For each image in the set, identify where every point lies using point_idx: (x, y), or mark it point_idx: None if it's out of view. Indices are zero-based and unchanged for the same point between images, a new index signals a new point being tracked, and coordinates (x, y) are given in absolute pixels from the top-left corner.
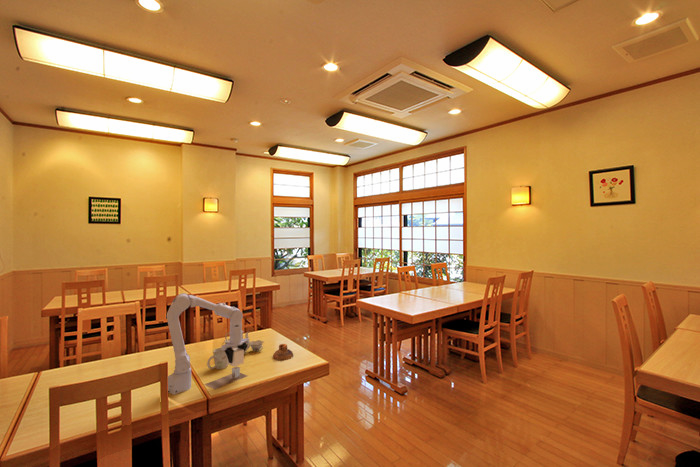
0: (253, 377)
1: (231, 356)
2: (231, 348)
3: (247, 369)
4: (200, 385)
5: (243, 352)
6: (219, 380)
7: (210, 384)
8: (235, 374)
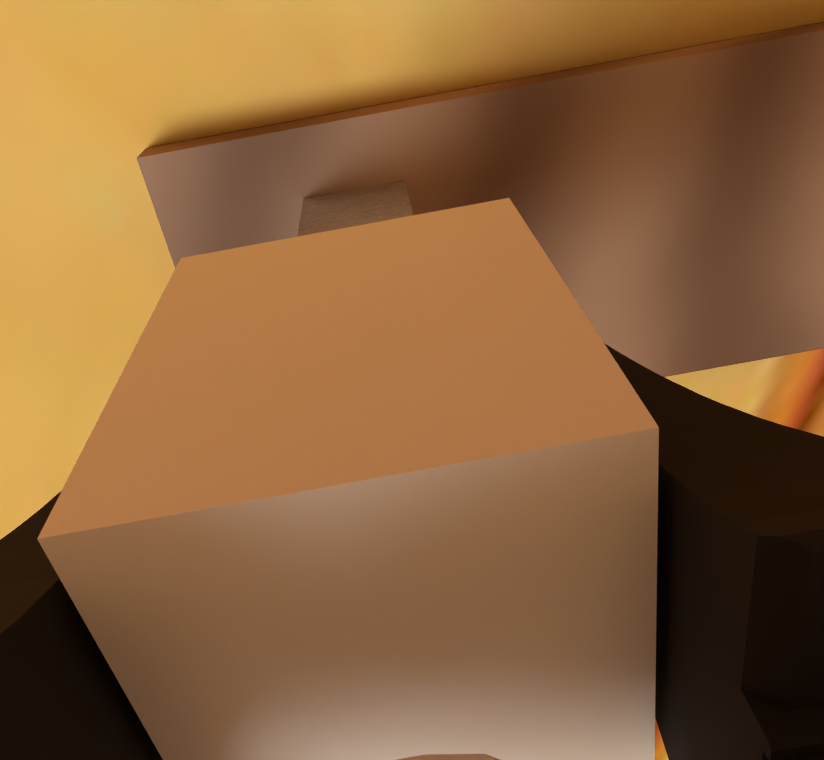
0: (45, 86)
1: (676, 408)
2: (802, 749)
3: (47, 471)
4: (810, 400)
5: (102, 447)
6: (609, 327)
7: (781, 281)
8: (404, 210)
